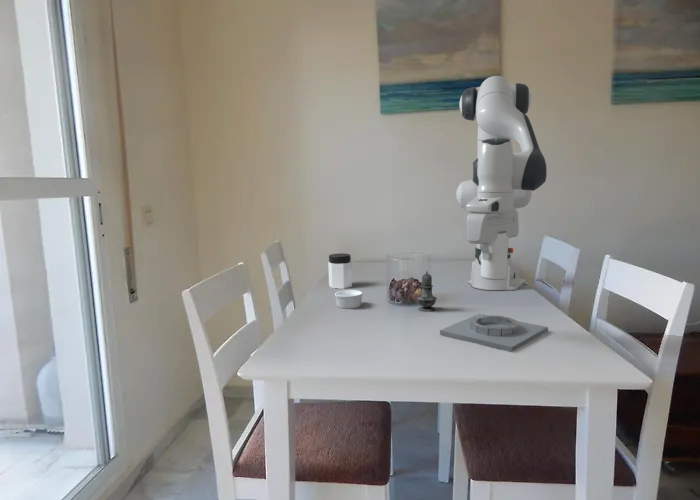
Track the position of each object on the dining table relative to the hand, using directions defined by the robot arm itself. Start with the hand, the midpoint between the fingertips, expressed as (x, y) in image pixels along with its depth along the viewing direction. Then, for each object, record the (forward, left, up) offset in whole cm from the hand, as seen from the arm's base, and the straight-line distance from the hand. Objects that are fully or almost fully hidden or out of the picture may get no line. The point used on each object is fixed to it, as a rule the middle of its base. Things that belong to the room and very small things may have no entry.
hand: (493, 257), depth 129 cm
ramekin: (+4, -49, -20) cm, 53 cm away
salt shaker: (-8, -27, -20) cm, 34 cm away
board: (0, 0, -20) cm, 20 cm away
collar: (0, 0, -19) cm, 19 cm away
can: (0, 0, -5) cm, 5 cm away
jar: (-14, -71, -20) cm, 75 cm away
